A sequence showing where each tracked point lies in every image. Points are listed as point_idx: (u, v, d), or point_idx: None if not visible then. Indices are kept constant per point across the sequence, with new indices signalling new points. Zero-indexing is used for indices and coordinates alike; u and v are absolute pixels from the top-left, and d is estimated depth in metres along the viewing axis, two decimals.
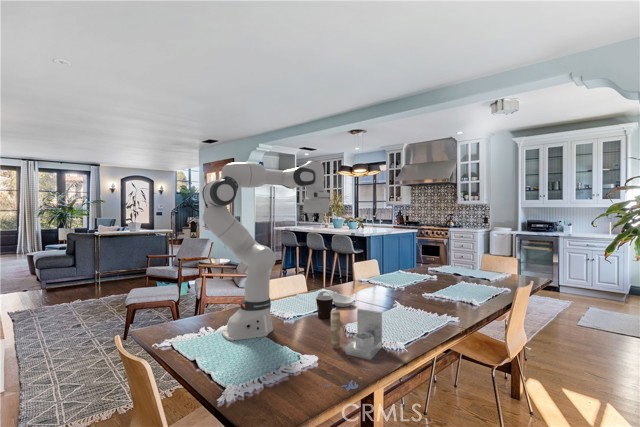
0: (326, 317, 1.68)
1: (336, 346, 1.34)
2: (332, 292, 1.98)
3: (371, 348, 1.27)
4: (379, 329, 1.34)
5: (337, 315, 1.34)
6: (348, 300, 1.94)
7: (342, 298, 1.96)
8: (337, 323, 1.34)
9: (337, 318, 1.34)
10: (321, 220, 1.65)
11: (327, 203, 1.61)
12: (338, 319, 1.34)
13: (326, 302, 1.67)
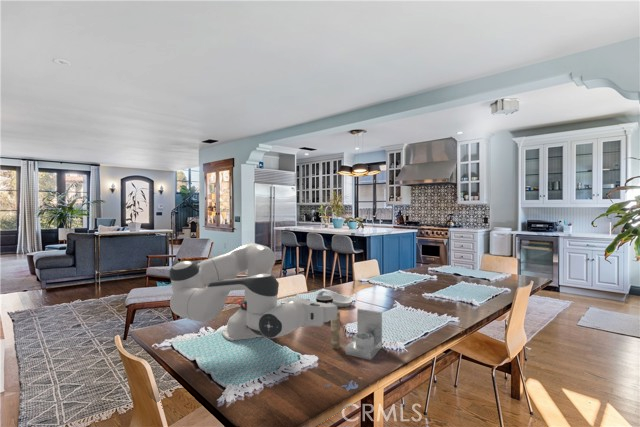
0: None
1: (336, 346, 1.34)
2: (331, 292, 1.98)
3: (371, 348, 1.27)
4: (379, 329, 1.34)
5: (337, 315, 1.34)
6: (347, 300, 1.94)
7: (341, 298, 1.96)
8: (337, 323, 1.34)
9: (337, 318, 1.34)
10: None
11: (331, 310, 1.11)
12: (338, 319, 1.34)
13: (326, 302, 1.67)
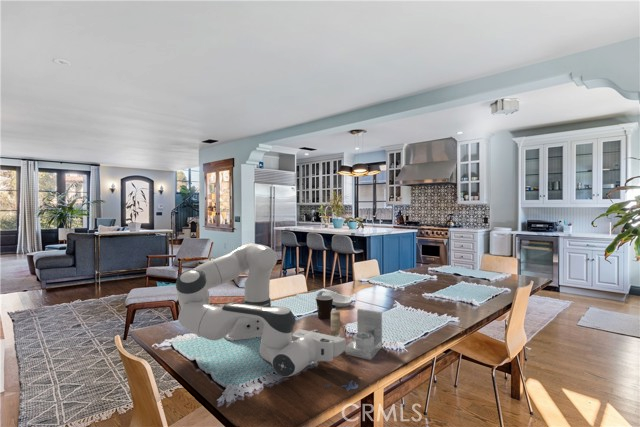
0: (326, 317, 1.68)
1: None
2: (331, 292, 1.98)
3: (371, 348, 1.27)
4: (379, 329, 1.34)
5: (337, 315, 1.34)
6: (346, 300, 1.94)
7: (341, 298, 1.96)
8: (337, 323, 1.34)
9: (337, 318, 1.34)
10: (339, 337, 1.26)
11: (340, 345, 1.17)
12: (338, 319, 1.34)
13: (326, 302, 1.67)
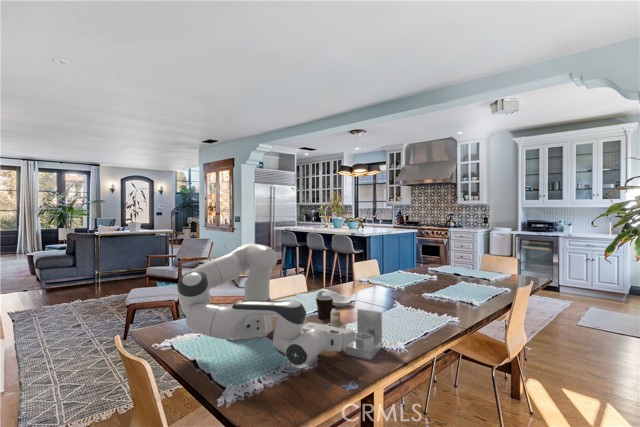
0: (326, 317, 1.68)
1: None
2: (331, 292, 1.98)
3: (371, 348, 1.27)
4: (379, 329, 1.34)
5: (337, 315, 1.34)
6: (346, 300, 1.94)
7: (340, 298, 1.96)
8: (337, 323, 1.34)
9: (337, 318, 1.34)
10: (342, 328, 1.34)
11: (349, 336, 1.23)
12: (338, 319, 1.34)
13: (326, 302, 1.67)
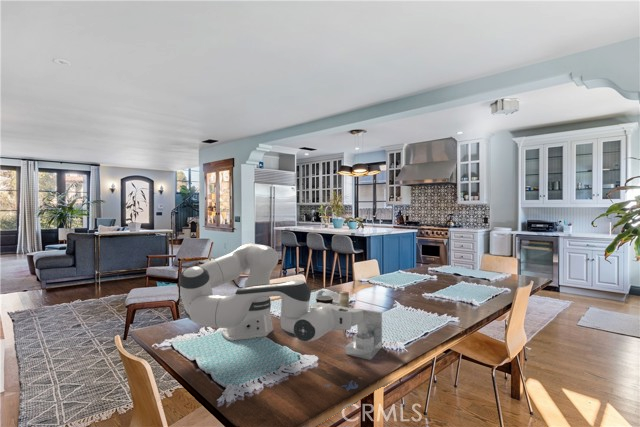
0: None
1: None
2: (330, 292, 1.99)
3: (371, 348, 1.27)
4: (379, 329, 1.34)
5: (346, 295, 1.31)
6: None
7: None
8: (346, 303, 1.31)
9: (346, 298, 1.30)
10: None
11: (358, 315, 1.20)
12: (347, 299, 1.31)
13: (326, 302, 1.67)
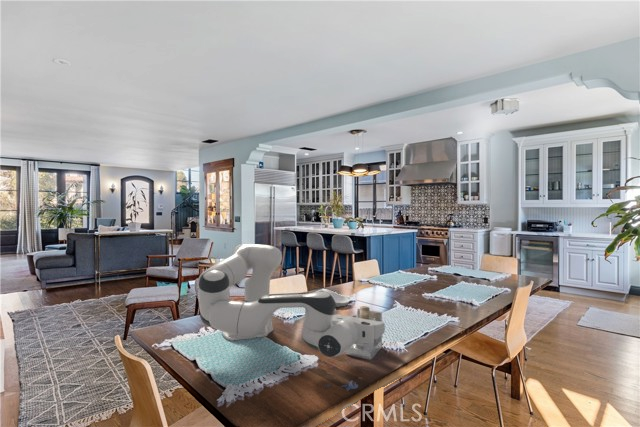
0: None
1: None
2: (330, 291, 1.99)
3: (371, 348, 1.27)
4: None
5: (367, 311, 1.29)
6: (345, 300, 1.94)
7: (339, 298, 1.97)
8: None
9: (366, 313, 1.29)
10: (374, 321, 1.29)
11: (380, 328, 1.19)
12: (368, 315, 1.30)
13: None
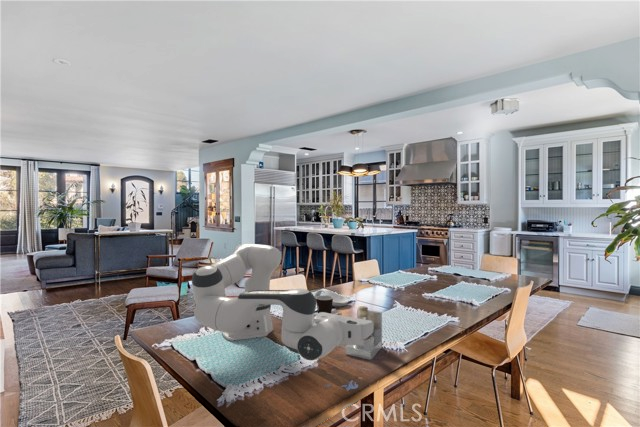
0: None
1: None
2: (329, 291, 1.99)
3: (371, 348, 1.27)
4: (379, 329, 1.34)
5: (365, 310, 1.30)
6: (344, 300, 1.95)
7: (338, 298, 1.97)
8: None
9: (365, 313, 1.30)
10: (365, 320, 1.17)
11: (368, 327, 1.08)
12: (366, 315, 1.30)
13: (326, 302, 1.67)
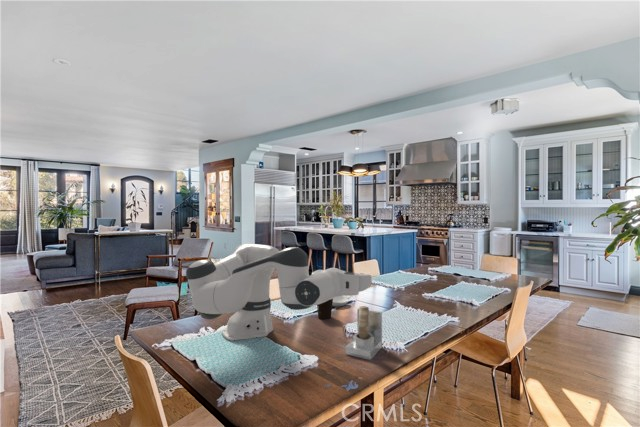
0: (326, 317, 1.68)
1: None
2: None
3: (371, 348, 1.27)
4: (379, 329, 1.34)
5: (366, 310, 1.30)
6: (344, 300, 1.95)
7: (338, 297, 1.97)
8: (366, 319, 1.30)
9: (366, 313, 1.30)
10: None
11: (366, 279, 1.07)
12: (367, 315, 1.30)
13: (326, 302, 1.67)
